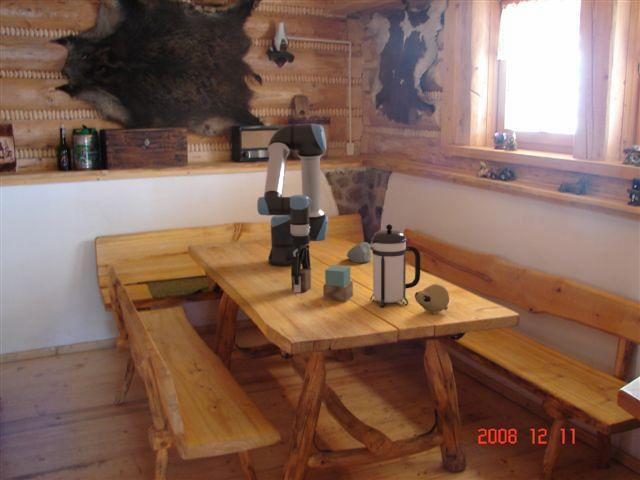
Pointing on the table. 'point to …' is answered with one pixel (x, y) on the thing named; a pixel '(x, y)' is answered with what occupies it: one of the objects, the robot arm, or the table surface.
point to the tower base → (338, 292)
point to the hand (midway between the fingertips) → (301, 288)
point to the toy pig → (433, 298)
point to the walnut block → (304, 280)
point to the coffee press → (391, 266)
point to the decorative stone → (360, 253)
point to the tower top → (337, 276)
